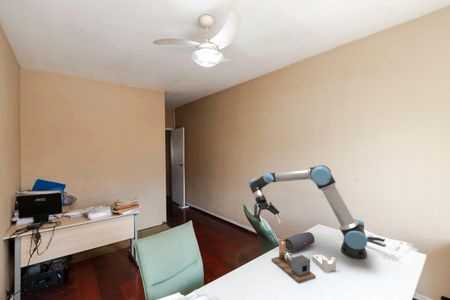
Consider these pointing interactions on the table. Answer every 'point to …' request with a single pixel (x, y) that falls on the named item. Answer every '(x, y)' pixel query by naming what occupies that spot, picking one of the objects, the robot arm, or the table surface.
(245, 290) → the table surface
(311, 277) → the walnut board
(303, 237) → the bluetooth speaker
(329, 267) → the bracket
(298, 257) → the bearing block
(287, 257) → the shaft
